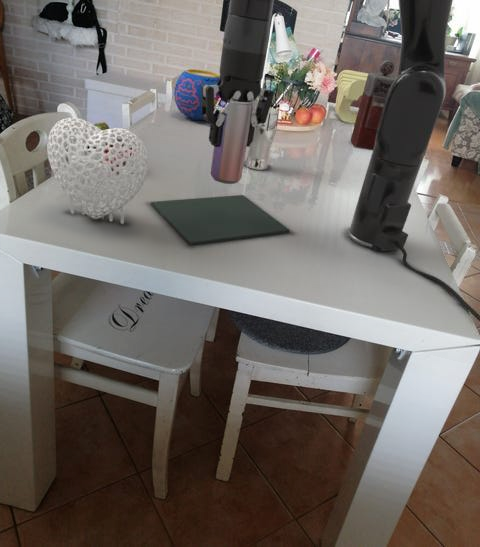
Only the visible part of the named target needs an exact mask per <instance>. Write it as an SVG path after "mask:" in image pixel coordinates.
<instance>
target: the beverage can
mask: <svg viewBox="0 0 480 547" xmlns="http://www.w3.org/2000/svg"><path fill="white" fill-rule="evenodd" d="M227 101H229V99H228V100H227ZM252 103H253V101H252V102H247V101H233V100H231V104H230V106H229V112H228V115H225V119H224V121H223V123H222V125H221V127H222V132H221V139H220V146H219V147H214V146H213V151H212V158H211V167H210V176H211V178H212V179H213V180H214V181H215V182H218V183H221V184H227V185H233V184H238V183H239V182H240V181H241V179H242V176H243V170H244V165H245V159H246V151H247V147H246V146H247V140H248V134H249V128H250V122H251V116H252V110H253V106H252ZM226 104H227V102H226V103H225V102H224V101H220V107H222V108H224V107H225V106H226ZM219 114H220V111H219Z"/></svg>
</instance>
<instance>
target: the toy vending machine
mask: <svg viewBox="0 0 480 547" xmlns="http://www.w3.org/2000/svg"><path fill="white" fill-rule="evenodd" d="M379 71H380V73H379V72H378V73H377V72H369V73H368V77H367V80H366V84H365V88H364V91H363V95H362V96H361V99H360V103H359V107H358V111H357V117H356V121H355V123H354V124H353V128H352V132H351V136H350V140H349V141H350V143H351V144H352V146H353V147H354V148H357V149H364V150H370V151H373V149H374V145H375V139H376V134H377V130H378V127H379V123H380V119H381V116H382V112H383V109H384V105H385V102H386V99H387V95H388V92H389V90H390V87H391V85H392V84H393V82H394V81H395V80H396V78H397V77H395V76H393V75H391V74H393V73H394V71H395V64H394V62H392V60H387V59H386V60H384V61H382V62H381V63H380V65H379Z"/></svg>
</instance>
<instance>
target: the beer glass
mask: <svg viewBox="0 0 480 547" xmlns="http://www.w3.org/2000/svg"><path fill="white" fill-rule="evenodd" d="M256 107H257V105H255V108H256ZM279 114H280V111H279V110H278V109H276V108H273V107H270V109H269V112H268V116H267V119H266V122H265V123H264V124H262V123H260V124H258V125H257V126H256V127H255V131H254V137H253V141H252V143H251V144H250V146H249V147H248V148H249V149H248V154H247V158H246V160H245V162H244V165H245V167H247V168H249V169H251V170H257V171H264V170H268V167H269V166H268V164H269V163H268V162H269V154H270V149H271V147H272V145H273V142H274V139H275V137H276V133H277V129H278V122H279Z"/></svg>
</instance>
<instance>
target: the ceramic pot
mask: <svg viewBox="0 0 480 547" xmlns="http://www.w3.org/2000/svg"><path fill="white" fill-rule="evenodd" d="M219 78H220V74H218V73H215V72H213V71H208V70H203V69H196V68H195V69H192V68H191V69H185V70H183V72H182V73H181V74H180V75H179V77H178V78H177V80H176V82H175V86H174V92H173V96H174V102H175V104H176V107H177V110H178V111H179V112H180V113H181V114H182V115H183V116H185V117H187V118H189V119H190V120H193V121H203V122H204V121H205V120H204V119H203V118H202V117H201V86H202V84H207V85H216V84H217V82H218V81H219ZM219 98H220V96H219V94H218V92H217V93H216V97H215V98H214V110H215V105H216V103H217V101H218V100H219Z"/></svg>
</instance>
